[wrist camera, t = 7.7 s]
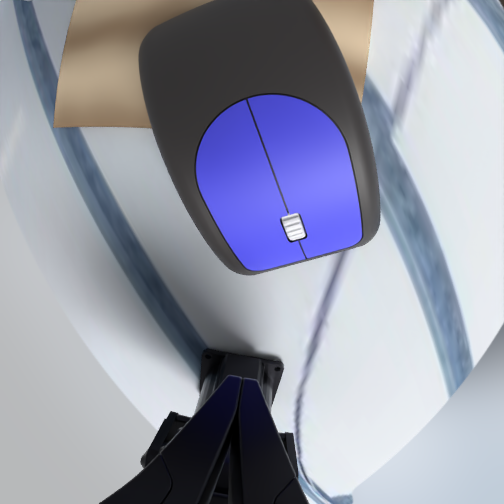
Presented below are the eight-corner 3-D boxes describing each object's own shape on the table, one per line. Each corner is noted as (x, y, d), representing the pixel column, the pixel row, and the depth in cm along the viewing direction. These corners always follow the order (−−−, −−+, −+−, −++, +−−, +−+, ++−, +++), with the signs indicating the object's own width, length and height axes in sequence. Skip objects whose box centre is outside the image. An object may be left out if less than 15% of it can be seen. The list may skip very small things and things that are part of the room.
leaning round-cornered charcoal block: (104, 26, 10) (298, -52, 7) (143, 40, 14) (295, -17, 12) (226, 313, 16) (399, 268, 14) (237, 270, 20) (376, 232, 18)
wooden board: (348, 156, 17) (351, 157, 16) (58, 127, 17) (53, 127, 17) (372, -14, 12) (374, -17, 11) (86, -17, 12) (82, -20, 12)
